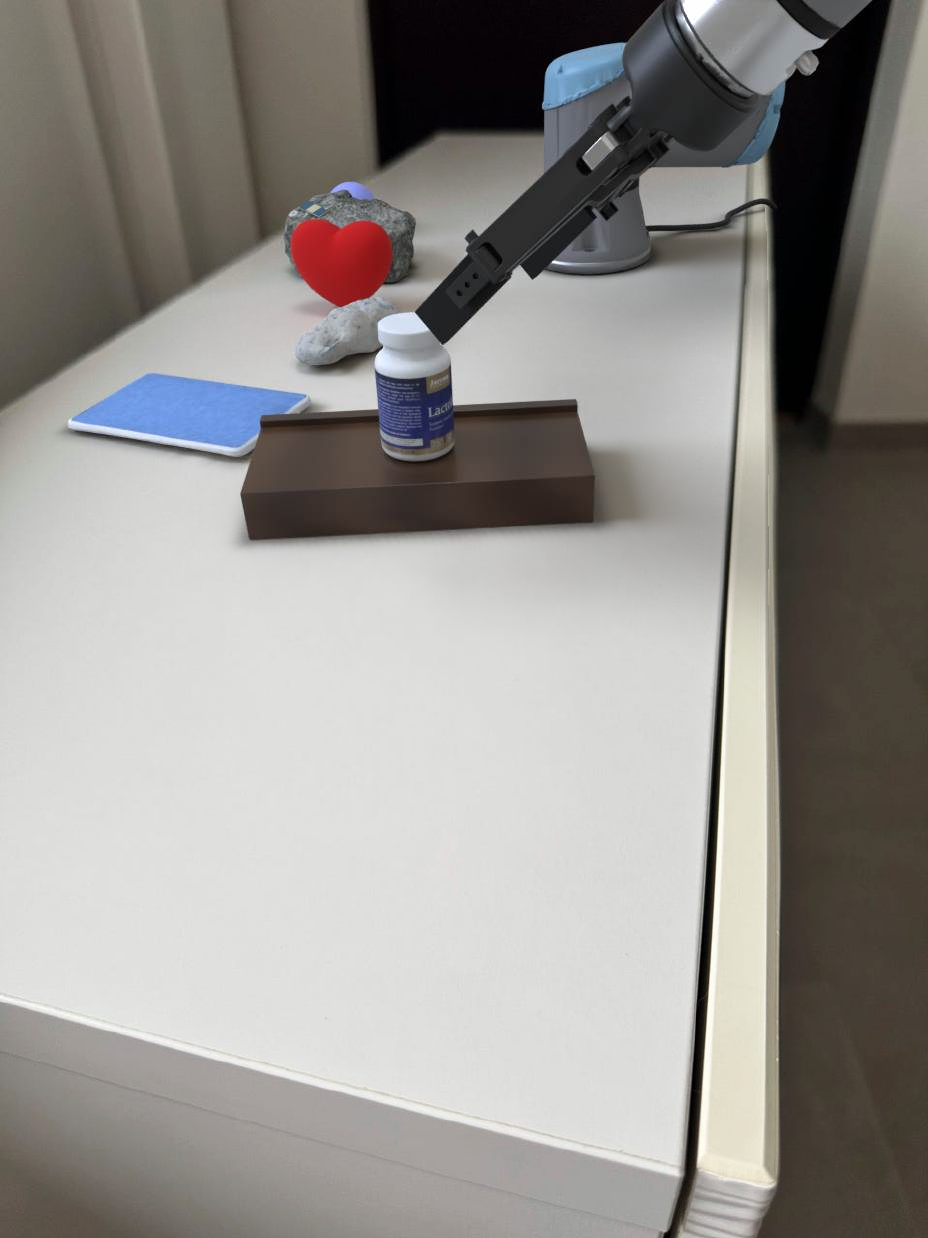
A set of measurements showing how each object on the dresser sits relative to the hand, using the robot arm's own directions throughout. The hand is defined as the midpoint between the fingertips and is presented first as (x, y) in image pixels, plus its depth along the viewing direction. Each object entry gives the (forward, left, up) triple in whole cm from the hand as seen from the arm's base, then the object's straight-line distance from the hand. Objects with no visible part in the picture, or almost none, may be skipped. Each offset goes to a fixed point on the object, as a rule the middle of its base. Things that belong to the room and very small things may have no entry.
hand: (479, 293), depth 69 cm
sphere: (-36, -70, -17) cm, 81 cm away
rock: (-27, -57, -17) cm, 65 cm away
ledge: (+2, -5, -17) cm, 18 cm away
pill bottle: (+2, -5, -13) cm, 14 cm away
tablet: (+9, -31, -17) cm, 37 cm away
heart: (-18, -45, -17) cm, 52 cm away
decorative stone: (-11, -34, -17) cm, 40 cm away
